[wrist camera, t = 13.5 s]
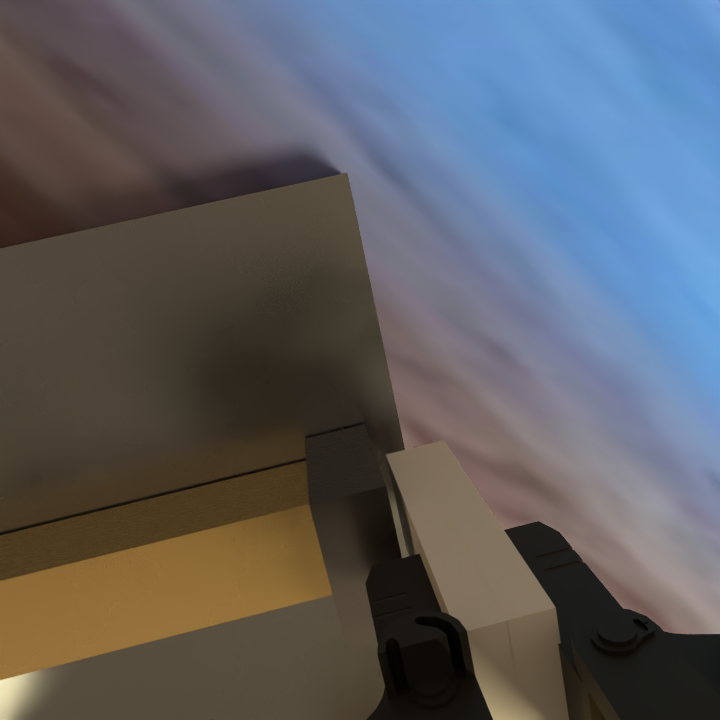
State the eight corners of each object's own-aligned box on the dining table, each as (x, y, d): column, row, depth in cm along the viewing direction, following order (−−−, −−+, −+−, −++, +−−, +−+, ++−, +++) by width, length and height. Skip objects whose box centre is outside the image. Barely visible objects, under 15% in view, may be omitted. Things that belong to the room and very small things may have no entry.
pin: (4, 641, 16) (-72, 761, 13) (-47, 524, 15) (-146, 617, 12) (391, 543, 17) (418, 632, 13) (364, 424, 16) (386, 486, 12)
